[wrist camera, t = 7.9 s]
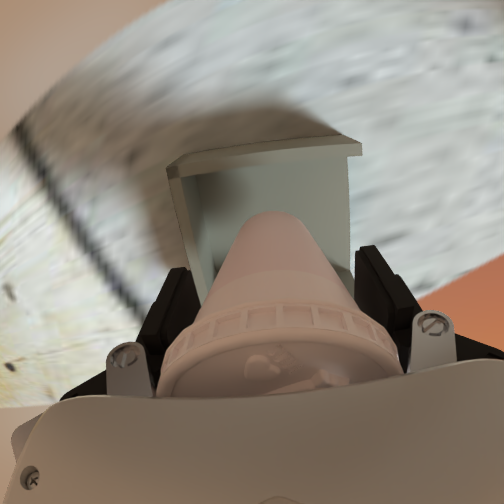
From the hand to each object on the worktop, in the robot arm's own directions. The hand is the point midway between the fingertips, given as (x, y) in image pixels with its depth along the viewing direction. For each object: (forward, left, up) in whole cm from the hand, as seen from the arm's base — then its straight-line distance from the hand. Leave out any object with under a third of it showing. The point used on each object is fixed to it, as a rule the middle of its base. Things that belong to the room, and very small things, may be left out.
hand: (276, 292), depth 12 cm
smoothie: (0, 0, -4) cm, 4 cm away
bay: (0, 0, -8) cm, 8 cm away
